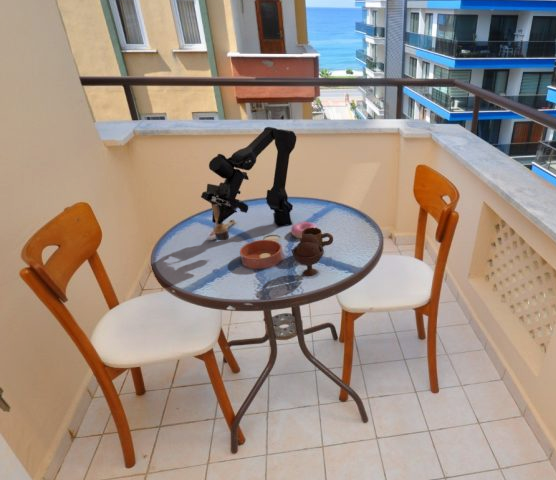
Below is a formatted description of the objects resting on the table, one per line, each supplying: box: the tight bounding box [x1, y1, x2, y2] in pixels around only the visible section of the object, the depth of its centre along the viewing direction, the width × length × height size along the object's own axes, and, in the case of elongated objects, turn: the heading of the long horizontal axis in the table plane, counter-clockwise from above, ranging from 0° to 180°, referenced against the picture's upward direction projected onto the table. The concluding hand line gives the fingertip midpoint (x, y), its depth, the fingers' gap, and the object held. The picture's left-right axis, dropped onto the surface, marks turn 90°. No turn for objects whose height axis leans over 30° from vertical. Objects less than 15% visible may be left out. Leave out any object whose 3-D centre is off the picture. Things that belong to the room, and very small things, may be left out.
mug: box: [302, 227, 334, 249], centre depth 158 cm, size 12×8×9 cm, turn 82°
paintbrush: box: [206, 219, 236, 241], centre depth 175 cm, size 4×3×20 cm
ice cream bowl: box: [291, 234, 325, 277], centre depth 144 cm, size 11×11×15 cm
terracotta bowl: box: [239, 239, 284, 270], centre depth 156 cm, size 15×15×4 cm
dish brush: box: [211, 204, 230, 241], centre depth 153 cm, size 5×5×13 cm
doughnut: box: [290, 221, 318, 239], centre depth 174 cm, size 11×11×4 cm
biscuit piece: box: [259, 253, 270, 258], centre depth 156 cm, size 4×4×1 cm
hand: (215, 223), depth 152 cm, fingers closed on dish brush, 2 cm apart
